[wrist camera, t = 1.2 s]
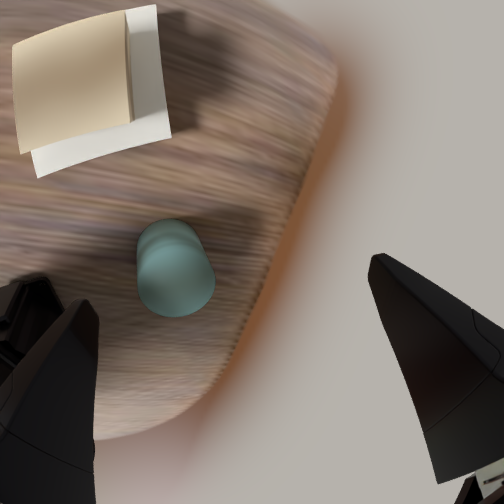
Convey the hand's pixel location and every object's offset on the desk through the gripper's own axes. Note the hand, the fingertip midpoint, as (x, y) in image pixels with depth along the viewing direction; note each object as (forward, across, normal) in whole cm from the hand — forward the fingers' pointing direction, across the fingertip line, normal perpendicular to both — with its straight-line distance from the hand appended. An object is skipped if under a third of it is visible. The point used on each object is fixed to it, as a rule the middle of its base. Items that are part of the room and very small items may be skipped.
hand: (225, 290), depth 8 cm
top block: (+9, +6, -7) cm, 13 cm away
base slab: (+11, +7, -6) cm, 14 cm away
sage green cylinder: (+10, +4, +5) cm, 12 cm away
